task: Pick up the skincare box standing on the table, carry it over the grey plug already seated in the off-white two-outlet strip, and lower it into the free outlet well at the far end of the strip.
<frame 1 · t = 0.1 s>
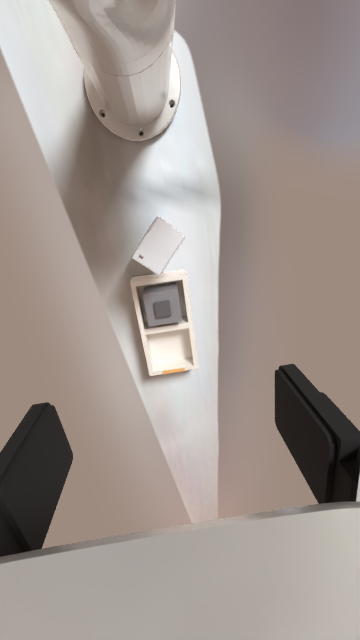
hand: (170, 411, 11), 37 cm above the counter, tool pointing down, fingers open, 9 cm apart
seated twin plug: (162, 298, 47), resting on pdu strip
pdu strip: (166, 320, 49), on the counter
skincare box: (158, 239, 44), on the counter
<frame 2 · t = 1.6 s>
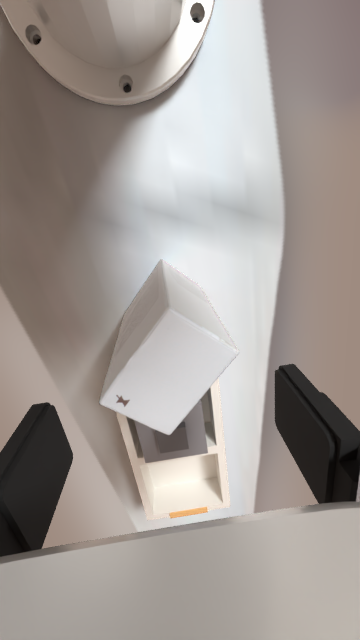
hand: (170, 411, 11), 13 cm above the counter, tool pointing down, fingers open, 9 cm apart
seated twin plug: (169, 392, 27), resting on pdu strip
pdu strip: (175, 424, 29), on the counter
skincare box: (162, 298, 23), on the counter
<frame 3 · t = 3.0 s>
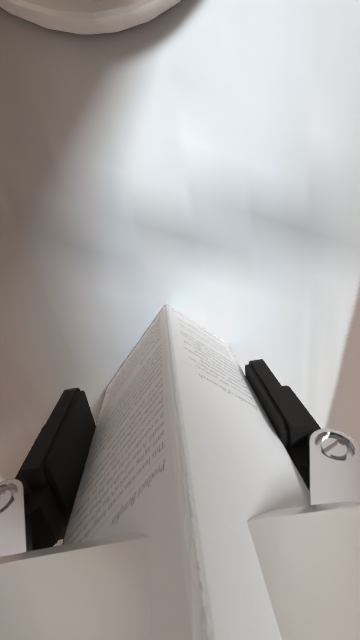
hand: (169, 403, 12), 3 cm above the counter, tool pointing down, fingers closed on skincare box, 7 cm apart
skincare box: (168, 361, 15), on the counter, touching gripper
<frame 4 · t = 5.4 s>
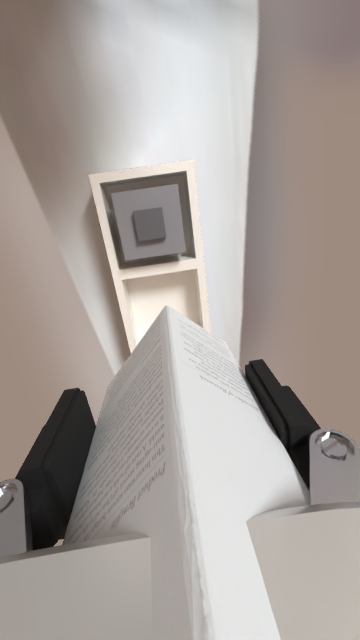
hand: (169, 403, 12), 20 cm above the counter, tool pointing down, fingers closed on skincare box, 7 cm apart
seated twin plug: (151, 221, 28), resting on pdu strip
pdu strip: (158, 261, 30), on the counter
skincare box: (168, 361, 15), point 17 cm above the counter, touching gripper
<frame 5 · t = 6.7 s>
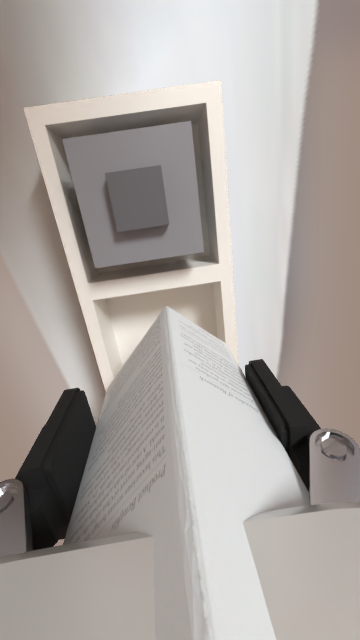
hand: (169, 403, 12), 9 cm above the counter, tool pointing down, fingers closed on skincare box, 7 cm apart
seated twin plug: (145, 204, 17), resting on pdu strip
pdu strip: (156, 269, 19), on the counter
skincare box: (168, 362, 15), point 6 cm above the counter, touching gripper
when the fingers open (6 cm above the counter, at t = 7.9 s): skincare box drops 2 cm, resting on pdu strip.
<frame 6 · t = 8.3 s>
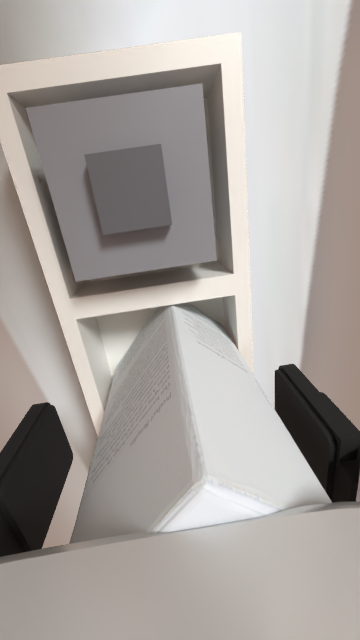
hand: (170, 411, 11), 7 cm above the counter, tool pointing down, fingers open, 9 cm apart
seated twin plug: (141, 200, 14), resting on pdu strip
pdu strip: (155, 277, 16), on the counter
skincare box: (170, 343, 17), point 1 cm above the counter, touching pdu strip
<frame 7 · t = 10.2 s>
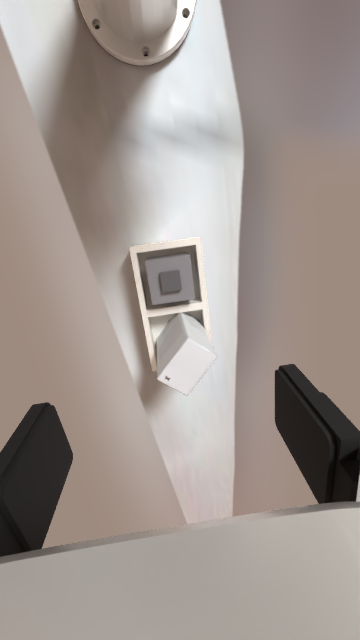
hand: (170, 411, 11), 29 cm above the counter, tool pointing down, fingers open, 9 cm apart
seated twin plug: (169, 273, 38), resting on pdu strip
pdu strip: (173, 302, 40), on the counter
skincare box: (179, 329, 40), point 1 cm above the counter, touching pdu strip
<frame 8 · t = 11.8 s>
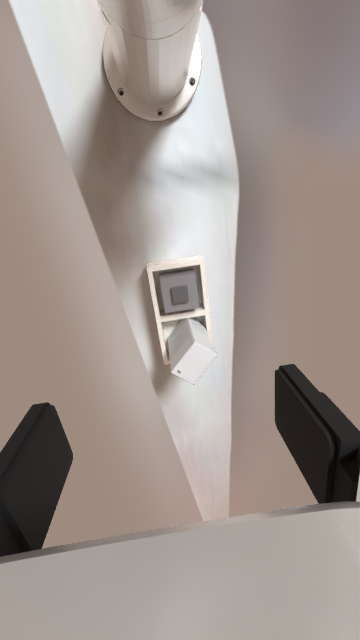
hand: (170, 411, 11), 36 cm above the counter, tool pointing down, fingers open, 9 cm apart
seated twin plug: (177, 285, 46), resting on pdu strip
pdu strip: (181, 308, 48), on the counter
skincare box: (185, 329, 49), point 1 cm above the counter, touching pdu strip
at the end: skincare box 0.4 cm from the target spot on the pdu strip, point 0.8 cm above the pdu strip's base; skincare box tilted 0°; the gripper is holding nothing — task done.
